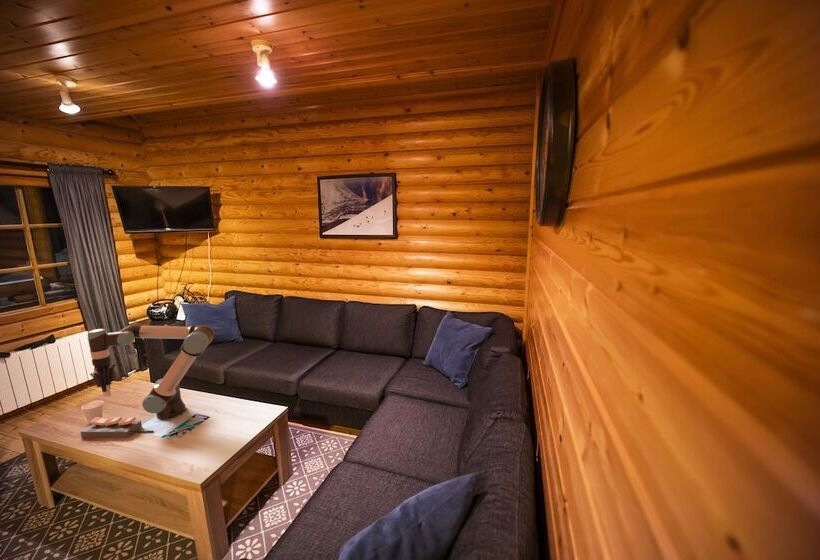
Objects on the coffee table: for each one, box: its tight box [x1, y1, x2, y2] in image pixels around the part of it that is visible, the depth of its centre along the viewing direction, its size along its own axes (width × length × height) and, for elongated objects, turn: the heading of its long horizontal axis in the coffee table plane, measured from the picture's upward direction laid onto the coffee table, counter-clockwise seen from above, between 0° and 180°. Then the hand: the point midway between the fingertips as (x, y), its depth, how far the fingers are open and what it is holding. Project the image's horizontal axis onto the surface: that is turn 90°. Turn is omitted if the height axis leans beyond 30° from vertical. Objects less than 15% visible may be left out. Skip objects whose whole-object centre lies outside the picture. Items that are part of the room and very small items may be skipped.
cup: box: [80, 399, 104, 424], centre depth 202 cm, size 10×10×11 cm
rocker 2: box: [104, 416, 123, 426], centre depth 192 cm, size 7×4×2 cm, turn 90°
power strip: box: [80, 420, 155, 439], centre depth 191 cm, size 36×10×5 cm, turn 90°
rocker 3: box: [118, 416, 137, 426], centre depth 192 cm, size 7×4×2 cm, turn 90°
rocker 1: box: [89, 417, 110, 426], centre depth 192 cm, size 7×4×2 cm, turn 90°
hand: (107, 395), depth 189 cm, fingers closed
